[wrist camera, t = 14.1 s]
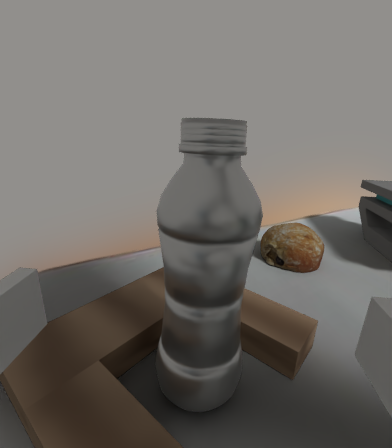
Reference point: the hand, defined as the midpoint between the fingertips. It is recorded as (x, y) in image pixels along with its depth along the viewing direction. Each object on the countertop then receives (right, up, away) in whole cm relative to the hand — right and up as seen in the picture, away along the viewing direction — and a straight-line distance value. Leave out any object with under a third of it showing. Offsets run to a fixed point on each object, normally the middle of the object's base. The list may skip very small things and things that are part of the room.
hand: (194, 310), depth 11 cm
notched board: (-2, -9, +13) cm, 16 cm away
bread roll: (+16, -2, +34) cm, 37 cm away
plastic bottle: (0, -10, +11) cm, 15 cm away
